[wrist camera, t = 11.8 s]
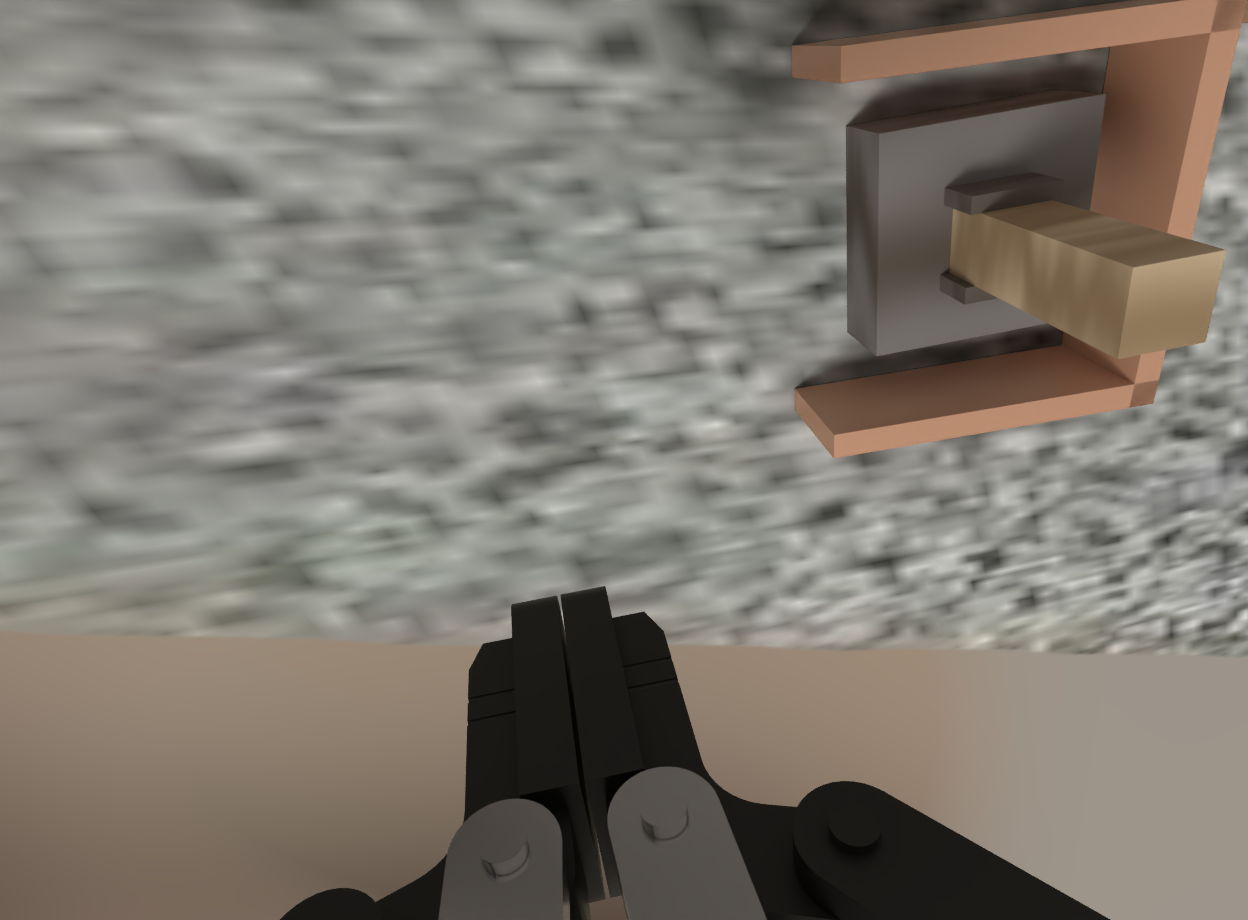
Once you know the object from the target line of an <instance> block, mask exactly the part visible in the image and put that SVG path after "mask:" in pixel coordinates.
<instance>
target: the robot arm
mask: <svg viewBox="0 0 1248 920" xmlns="http://www.w3.org/2000/svg"><path fill="white" fill-rule="evenodd" d="M561 603H562V610H563V618H564V625H563V620H562V615H561V610H560V606H559V601H558V597H557V596H552V597H547V598H542V599H537V600H532V601H527V602H522V603H516V604H512V606H511V616H512V638H510V639H505V640H500V641H494V642H489V643H484V644H483V645H482V647H481V649H480V650H479V652H478V654H477V656H476V658H475V660H474V662H473V664H472V665H471V667H470V669H469V685H468V699H469V703H468V726H467V756H466V791H465V815H464V822H463V824H462V826H461V827H460V828H459V829H458V831H457V832H456V834H455V836H454V837H453V839H452V842H451V844H450V846H449V849H448V853H447V854H446V856H445V857H444V858H443V859H442V860H441V861H440V862H439V863H438V864H437V865H436V866H435V867H434V868H433V869H431V870H430V871H429V872H428V873H426V874H425V875H423V876H422V877H420V878H419V879H417V880H415V881H414V882H412V883H410V884H408V885H406V886H405V887H403V888H401V889H399V890H397V891H395V892H393V893H391V894H390V895H388V896H386V897H384V898H382V899H380V900H379V901H377V902H375V901H374V900H373V899H372V898H371V897H370V896H368V895H367V894H366V893H363V892H361V891H359V890H355V889H349V888H337V889H331V890H327V891H324V892H321V893H317V894H315V895H313V896H311V897H309V898H307V899H305V900H304V901H302V902H301V903H299V904H298V905H296V906H295V907H294V908H292V909H291V910H290V911H289V912H287V913H286V914H285V915H284V916H283V917H282V918H281V919H280V920H591V915H590V906H589V903H591V902H595V901H600V900H604V899H605V892H604V885H603V877H602V870H601V863H600V855H599V848H600V852H601V856H602V861H603V866H604V870H605V875H606V880H607V884H608V889H609V893H610V898H611V897H615V896H620V895H622V898H623V902H624V907H625V912H626V916H627V920H1110V919H1108V918H1106V917H1105V916H1103V915H1101V914H1099V913H1098V912H1096V911H1094V910H1092V909H1091V908H1089V907H1087V906H1085V905H1083V904H1082V903H1080V902H1078V901H1076V900H1075V899H1073V898H1071V897H1069V896H1067V895H1066V894H1064V893H1062V892H1060V891H1059V890H1057V889H1055V888H1053V887H1051V886H1050V885H1048V884H1046V883H1045V882H1043V881H1041V880H1039V879H1038V878H1036V877H1034V876H1032V875H1030V874H1029V873H1027V872H1025V871H1023V870H1022V869H1020V868H1018V867H1016V866H1014V865H1013V864H1011V863H1009V862H1007V861H1006V860H1004V859H1002V858H1000V857H999V856H997V855H995V854H993V853H992V852H990V851H988V850H986V849H985V848H983V847H981V846H979V845H977V844H976V843H974V842H972V841H970V840H969V839H967V838H965V837H963V836H962V835H960V834H958V833H956V832H954V831H953V830H951V829H949V828H947V827H945V826H944V825H942V824H940V823H938V822H937V821H935V820H933V819H931V818H930V817H928V816H926V815H924V814H923V813H921V812H919V811H917V810H915V809H914V808H912V807H910V806H909V805H907V804H905V803H903V802H901V801H900V800H898V799H896V798H894V797H892V796H891V795H889V794H887V793H886V792H884V791H882V790H880V789H878V788H875V787H873V786H870V785H867V784H863V783H858V782H850V781H840V782H832V783H829V784H825V785H822V786H820V787H818V788H816V789H814V790H813V791H811V792H810V793H808V794H807V795H806V796H805V797H804V798H803V799H802V801H801V802H800V804H799V805H798V807H788V806H778V805H766V804H759V803H753V802H749V801H746V800H743V799H740V798H738V797H736V796H733V795H732V794H730V793H728V792H727V791H725V790H723V789H722V788H721V787H720V786H719V785H718V784H717V783H715V781H714V780H713V779H712V778H711V777H710V776H709V774H708V772H707V771H706V769H705V767H704V765H703V762H702V760H701V756H700V753H699V749H698V746H697V743H696V740H695V736H694V732H693V729H692V726H691V722H690V719H689V716H688V712H687V709H686V705H685V702H684V698H683V695H682V692H681V688H680V685H679V683H678V679H677V675H676V672H675V668H674V665H673V662H672V659H671V654H670V651H669V648H668V644H667V641H666V638H665V634H664V631H663V630H662V629H661V628H660V627H659V626H658V625H657V624H656V623H655V622H654V621H653V620H652V619H651V618H650V617H649V616H648V615H647V614H646V613H645V612H640V613H635V614H630V615H625V616H620V617H615V618H612V615H611V610H610V606H609V601H608V596H607V592H606V588H605V586H603V587H598V588H592V589H587V590H582V591H577V592H572V593H567V594H562V595H561ZM564 626H565V630H564ZM565 633H566V634H565ZM597 839H598V840H597ZM598 843H599V848H598Z"/></svg>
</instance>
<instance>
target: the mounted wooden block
mask: <svg viewBox="0 0 1248 920" xmlns="http://www.w3.org/2000/svg"><path fill="white" fill-rule="evenodd" d="M1105 99H1106V94H1104V93H1092V92H1081V91H1069V90H1057V89H1052V90H1047V91H1041V92H1035V93H1029V94H1024V95H1018V96H1012V97H1007V98H1001V99H995V100H990V101H984V102H978V103H973V104H967V105H961V106H956V107H950V108H944V109H939V110H933V111H927V112H921V113H916V114H910V115H904V116H899V117H893V118H887V119H882V120H876V121H870V122H865V123H859V124H853V125H848V126H846V196H847V332H848V333H849V334H850V335H852V336H853V337H854V338H855V339H856V340H858V341H859V342H860V343H861V344H862V345H864V346H865V347H866V348H867V349H868V350H870V351H871V352H872V353H873V354H874V355H876V356H881V355H886V354H891V353H896V352H902V351H907V350H912V349H917V348H922V347H928V346H933V345H938V344H943V343H948V342H954V341H959V340H964V339H969V338H974V337H980V336H985V335H990V334H995V333H1000V332H1005V331H1011V330H1016V329H1021V328H1026V327H1031V326H1037V325H1042V324H1047V323H1048V324H1050V325H1052V326H1054V327H1056V328H1058V329H1060V330H1061V331H1063V332H1065V333H1067V334H1069V335H1071V336H1073V337H1075V338H1077V339H1079V340H1081V341H1083V342H1085V343H1087V344H1089V345H1091V346H1093V347H1095V348H1097V349H1098V350H1100V351H1102V352H1104V353H1106V354H1108V355H1110V356H1112V357H1114V358H1116V359H1122V358H1127V357H1132V356H1137V355H1142V354H1147V353H1152V352H1157V351H1163V350H1168V349H1173V348H1178V347H1183V346H1188V345H1193V344H1198V343H1203V342H1205V341H1206V337H1207V333H1208V328H1209V324H1210V319H1211V315H1212V311H1213V306H1214V302H1215V297H1216V293H1217V288H1218V284H1219V280H1220V275H1221V271H1222V266H1223V262H1224V257H1225V253H1226V250H1224V249H1221V248H1217V247H1214V246H1210V245H1207V244H1203V243H1200V242H1196V241H1193V240H1190V239H1186V238H1183V237H1179V236H1176V235H1172V234H1169V233H1165V232H1162V231H1158V230H1155V229H1151V228H1148V227H1144V226H1141V225H1137V224H1134V223H1130V222H1127V221H1123V220H1120V219H1116V218H1113V217H1109V216H1106V215H1102V214H1099V213H1095V212H1092V211H1090V207H1091V200H1092V193H1093V185H1094V178H1095V171H1096V164H1097V157H1098V149H1099V142H1100V135H1101V128H1102V121H1103V113H1104V106H1105Z"/></svg>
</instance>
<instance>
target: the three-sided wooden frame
mask: <svg viewBox="0 0 1248 920" xmlns="http://www.w3.org/2000/svg"><path fill="white" fill-rule="evenodd" d="M1246 2H1247V0H1130V1H1122V2H1115V3H1107V4H1100V5H1092V6H1085V7H1077V8H1070V9H1062V10H1055V11H1047V12H1040V13H1032V14H1025V15H1017V16H1010V17H1002V18H995V19H987V20H980V21H972V22H964V23H957V24H949V25H942V26H934V27H927V28H919V29H912V30H904V31H897V32H889V33H882V34H874V35H867V36H859V37H852V38H844V39H837V40H829V41H821V42H814V43H806V44H799V45H792V77H793V78H801V79H809V80H817V81H825V82H834V83H847V82H854V81H861V80H869V79H876V78H883V77H891V76H898V75H905V74H913V73H920V72H927V71H934V70H942V69H949V68H956V67H964V66H971V65H978V64H986V63H993V62H1000V61H1007V60H1015V59H1022V58H1029V57H1037V56H1044V55H1051V54H1059V53H1066V52H1073V51H1080V50H1088V49H1095V48H1102V47H1110V52H1109V58H1108V64H1107V70H1106V76H1105V83H1104V89H1103V93H1104V94H1106V99H1105V106H1104V113H1103V121H1102V128H1101V135H1100V142H1099V149H1098V157H1097V164H1096V171H1095V178H1094V185H1093V193H1092V200H1091V207H1090V211H1092V212H1095V213H1099V214H1102V215H1106V216H1109V217H1113V218H1116V219H1120V220H1123V221H1127V222H1130V223H1134V224H1137V225H1141V226H1144V227H1148V228H1151V229H1155V230H1158V231H1162V232H1165V233H1169V234H1172V235H1176V236H1179V237H1183V238H1186V239H1190V240H1191V239H1192V235H1193V230H1194V226H1195V222H1196V217H1197V213H1198V209H1199V204H1200V200H1201V196H1202V192H1203V187H1204V183H1205V179H1206V174H1207V170H1208V166H1209V161H1210V157H1211V153H1212V148H1213V144H1214V140H1215V136H1216V131H1217V127H1218V123H1219V118H1220V114H1221V110H1222V105H1223V101H1224V97H1225V92H1226V88H1227V84H1228V80H1229V75H1230V71H1231V67H1232V62H1233V58H1234V54H1235V49H1236V45H1237V41H1238V36H1239V32H1240V28H1241V24H1242V19H1243V15H1244V11H1245V6H1246ZM1165 351H1166V350H1163V351H1157V352H1152V353H1147V354H1142V355H1137V356H1132V357H1127V358H1122V359H1116V358H1114V357H1112V356H1110V355H1108V354H1106V353H1104V352H1102V351H1100V350H1098V349H1097V348H1095V347H1093V346H1091V345H1089V344H1087V343H1085V342H1083V341H1081V340H1079V339H1077V338H1075V337H1073V336H1071V335H1069V334H1067V333H1065V332H1064V333H1063V339H1062V345H1058V346H1052V347H1046V348H1040V349H1034V350H1028V351H1022V352H1015V353H1009V354H1003V355H997V356H991V357H985V358H979V359H973V360H967V361H961V362H955V363H949V364H942V365H936V366H930V367H924V368H918V369H912V370H906V371H900V372H894V373H888V374H882V375H876V376H869V377H863V378H857V379H851V380H845V381H839V382H833V383H827V384H821V385H815V386H809V387H803V388H796V389H795V411H796V412H797V413H798V414H799V416H800V417H801V418H802V419H803V421H804V422H805V423H806V424H807V426H808V427H809V428H810V429H811V431H812V432H813V433H814V434H815V436H816V437H817V438H818V439H819V440H820V442H821V443H822V444H823V445H824V447H825V448H826V449H827V450H828V452H829V453H830V454H831V455H832V457H833V458H838V457H844V456H850V455H856V454H862V453H867V452H873V451H879V450H885V449H891V448H897V447H902V446H908V445H914V444H920V443H926V442H932V441H937V440H943V439H949V438H955V437H961V436H967V435H972V434H978V433H984V432H990V431H996V430H1002V429H1007V428H1013V427H1019V426H1025V425H1031V424H1037V423H1042V422H1048V421H1054V420H1060V419H1066V418H1072V417H1077V416H1083V415H1089V414H1095V413H1101V412H1107V411H1112V410H1118V409H1124V408H1130V407H1136V406H1142V405H1147V404H1153V403H1154V398H1155V394H1156V390H1157V385H1158V381H1159V377H1160V373H1161V368H1162V364H1163V360H1164V355H1165Z"/></svg>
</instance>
